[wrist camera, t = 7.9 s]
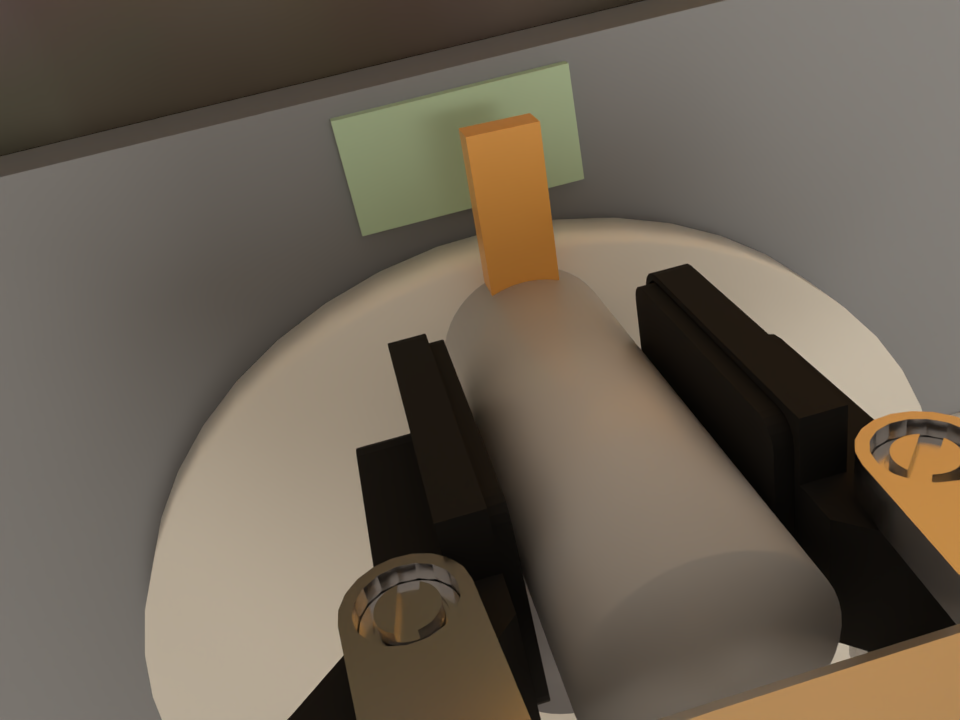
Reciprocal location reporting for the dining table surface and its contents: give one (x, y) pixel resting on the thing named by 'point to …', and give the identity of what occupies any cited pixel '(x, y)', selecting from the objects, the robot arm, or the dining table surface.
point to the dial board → (414, 230)
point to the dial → (509, 468)
